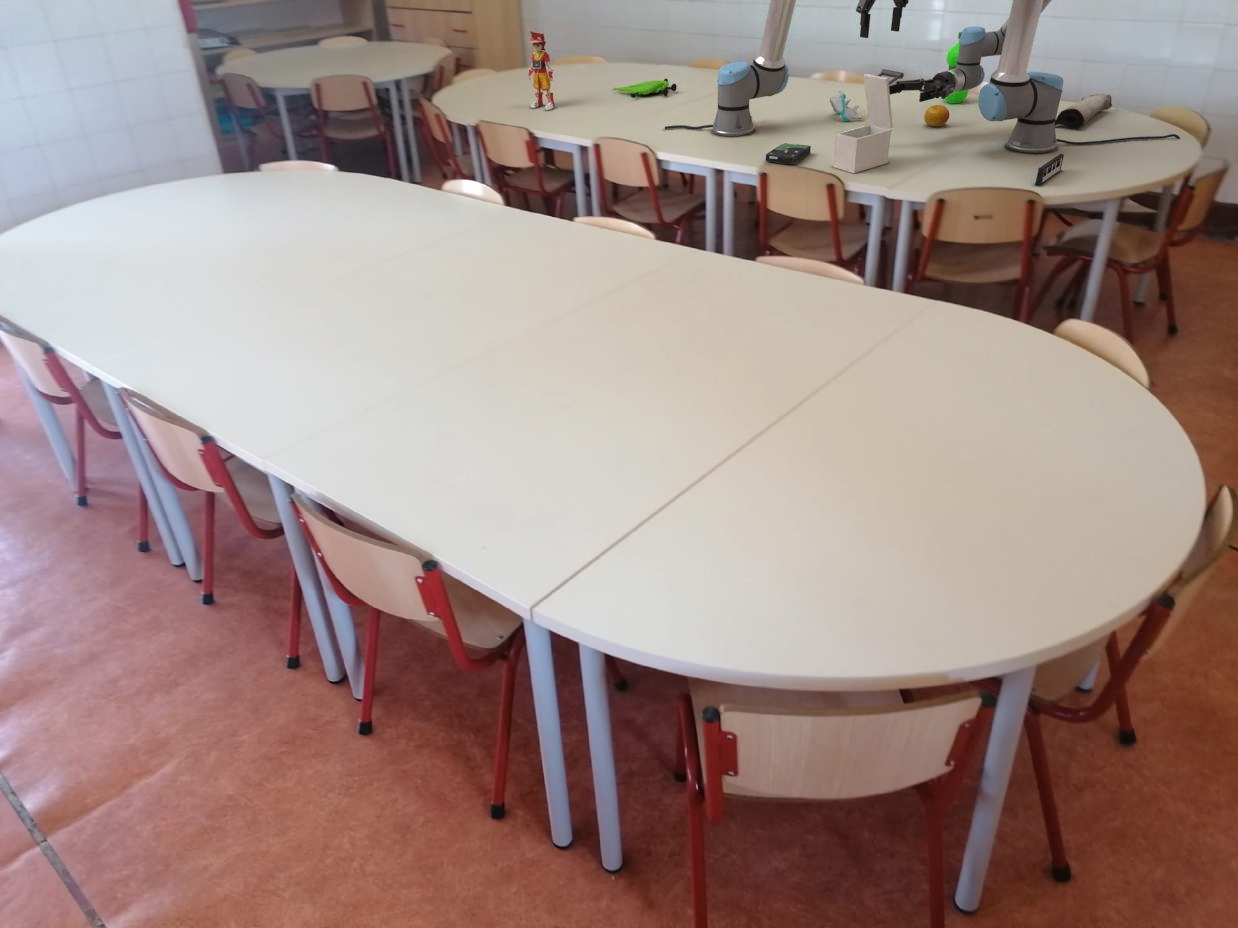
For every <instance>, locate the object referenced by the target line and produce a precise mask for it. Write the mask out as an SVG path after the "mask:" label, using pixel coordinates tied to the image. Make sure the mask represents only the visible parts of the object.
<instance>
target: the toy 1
mask: <svg viewBox="0 0 1238 928" xmlns="http://www.w3.org/2000/svg"><path fill="white" fill-rule="evenodd" d="M529 33H530V35H531V36H528V37H527V38H528V39H529V40H528V41H527V43H529V44H530V43H531V44H532V48H533V50H534V51H533V52H532V55H531V58H530V59H531V63H530V66H528V74H527V75H528V76H527V77H528V79H529V80H531V75H532V74H533V84H532V85H533V86H532V87H533V88H534V89H535V90H536V92H534V95H535V97H536V100H535V101H533V102H531V105H530V108H531V109H535V108H538V107H542V106H544V101H543V100H544V99H543V95H544V92H546V94H545V97H546V99H547V103H546V104H545V106H544V110H546V111H549V110H553V109H554V107H555V106H556V105H555V99H554V92H551V91H550V90H551V86H552V84H551V82H552V81H553V80H554V77H553V73H554V71H555V70H554V69H552V68H551V63H550V61H551V59H550V58H551V57H550V54H549V53H548V52H547V50H546V48H545V46H546V44H547V41H545V35H544V33H543V32H542V33H539V32H535V31H529Z"/></svg>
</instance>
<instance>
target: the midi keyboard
mask: <svg viewBox="0 0 1238 928" xmlns="http://www.w3.org/2000/svg"><path fill="white" fill-rule="evenodd" d="M1064 157H1065V153H1059V154H1058V155H1056V156H1055V157H1052V159H1051V160H1049V161H1047V162H1045V164H1042V165H1041V166H1039V167H1038V169H1037V175H1036V179H1035V186H1040V185H1042V183H1044V182H1045V181H1047V180H1048V179H1049V178H1051V177H1052V176H1054V175H1055V174H1056V173H1058V172H1060V171H1061V170H1062V165H1063V161H1064Z"/></svg>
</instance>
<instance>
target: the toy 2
mask: <svg viewBox="0 0 1238 928" xmlns="http://www.w3.org/2000/svg"><path fill="white" fill-rule="evenodd" d="M669 85H670V83H669V79H668V78H664V79H663V80H649V81H644V82H640V83H634V84H629V85H627V86H621V87H613V88H612V89H613V90H616V91H619V92H623V93H627V94H628V93H629V94H631V95H630V96H631V98H632V99H634V98H636V96H637V95H650V94H652V93H654V94H658V93H662V95H663V96H665V97H667V96H668V95H669V90H671V91H672V92H676V91H677V84H676V83H672V84H671V86H669Z"/></svg>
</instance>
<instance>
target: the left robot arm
mask: <svg viewBox="0 0 1238 928" xmlns="http://www.w3.org/2000/svg"><path fill="white" fill-rule="evenodd" d="M876 1H877V0H859V1H858V4H857V6H856V8H855V12H856V13H858V14H860V19H859V20H860V21H859V26H860V30H859V31H860V32H859V37H860V38H863V39H868V38H869V35H870V24H871V13H870V12H871V10H872V8H873V6H874V4H875V2H876ZM892 1H893V4H894V6H893V8H892V16H891V25H890V31H891V32H898V33H899V32H900V28H901V21H902V20H901V19H902V18H903V10H904V8H906V7H907V5H908V4H909V2H910V1H909V0H892ZM796 3H797V0H770V1H769V6H768V9H767V10H768V11H767V15H766V20H765V23H764V24H765V25H764V29H763V34H762V38H761V43H760V47H759V51H758V52H757V53H756V54H755V55H754V56H753V59H752V60H753V61H752V64H751V63H750V62H749V61H744V60H743V61H733V62H729V63H726V64H724V65H722V66H721V67H720V68H719V70H718V73H717V74H718V75H717V111H716V114H715V118H714V120H713V123H712V124H707V125H705V124H704V125H700V126H691V125H686V124H685V125H683V124H679V125H678V124H677V125H667V126H664V130H669V129H688V130H701V129H709V128H712V133H713V134H715V135H717V136H721V137H741V136H746V135H750V134H752V133H754V122H753V116H752V115H751V111H750V100H754V99H760V98H764V97H772V96H775V95H779V94H781V93H782V92H783V91H784V89H785V88H786V87H787V84H788V82H789V75H790V74H789V73H788V72H789V67H788V65H787V63H786V59H785V58H784V53H785V49H786V45H787V40H788V36H789V31H790V27H791V23H792V20H793V19H792V18H793V15H794V10H795V8H796V7H795V6H796Z"/></svg>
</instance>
